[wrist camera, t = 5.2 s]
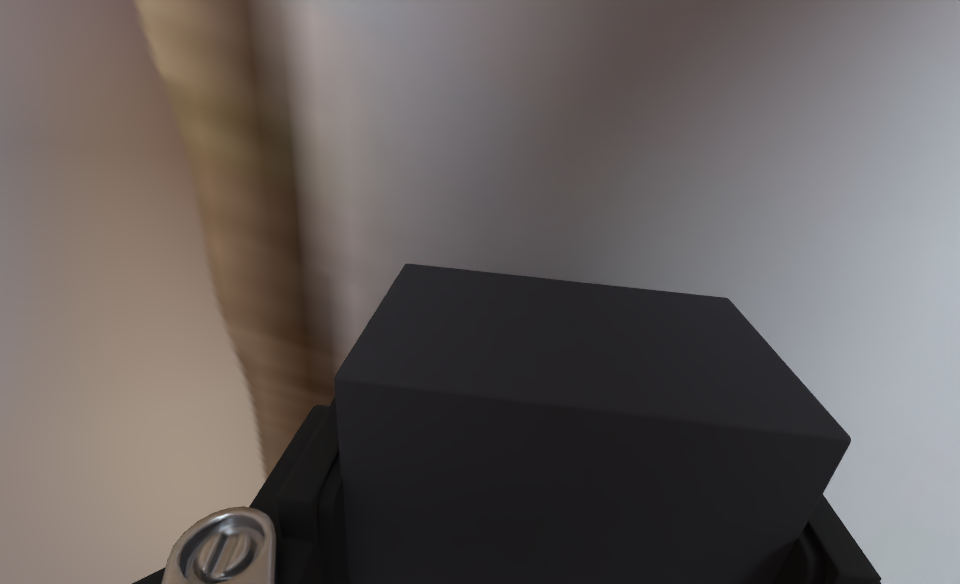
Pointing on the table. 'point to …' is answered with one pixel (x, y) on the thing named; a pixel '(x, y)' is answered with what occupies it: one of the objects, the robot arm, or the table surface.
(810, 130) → the table surface
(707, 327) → the small black block
